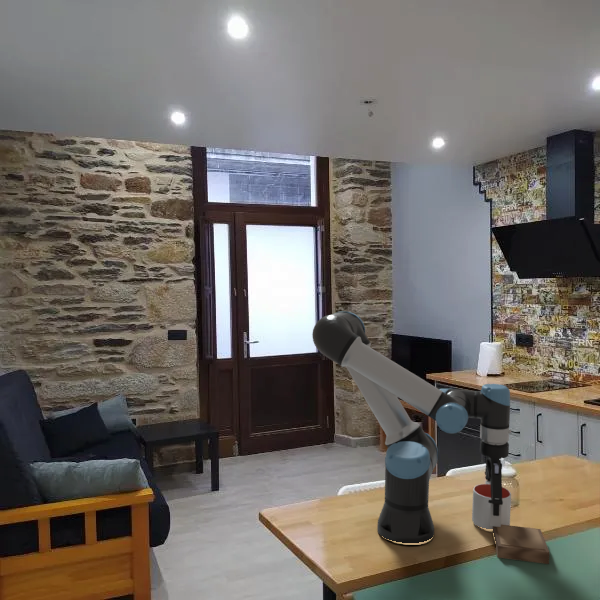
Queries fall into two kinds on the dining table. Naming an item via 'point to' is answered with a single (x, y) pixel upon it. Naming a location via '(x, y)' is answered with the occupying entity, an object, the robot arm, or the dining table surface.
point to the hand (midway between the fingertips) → (492, 515)
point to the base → (521, 544)
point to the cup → (483, 507)
